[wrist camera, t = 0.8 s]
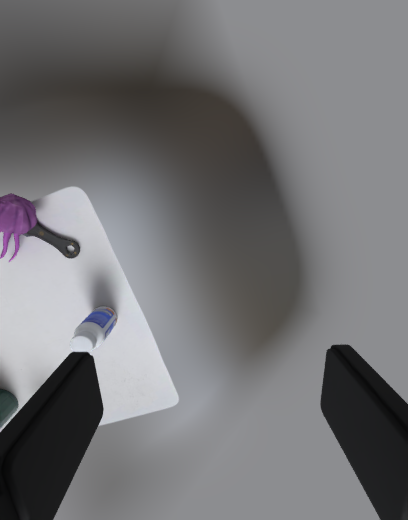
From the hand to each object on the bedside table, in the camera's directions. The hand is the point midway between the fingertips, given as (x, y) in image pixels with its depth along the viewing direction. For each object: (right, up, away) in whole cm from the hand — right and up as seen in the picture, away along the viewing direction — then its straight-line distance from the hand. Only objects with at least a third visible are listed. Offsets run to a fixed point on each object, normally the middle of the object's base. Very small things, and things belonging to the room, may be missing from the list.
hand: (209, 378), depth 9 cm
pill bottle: (-21, -7, +39) cm, 45 cm away
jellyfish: (-40, +5, +34) cm, 53 cm away
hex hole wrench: (-33, +11, +33) cm, 48 cm away
